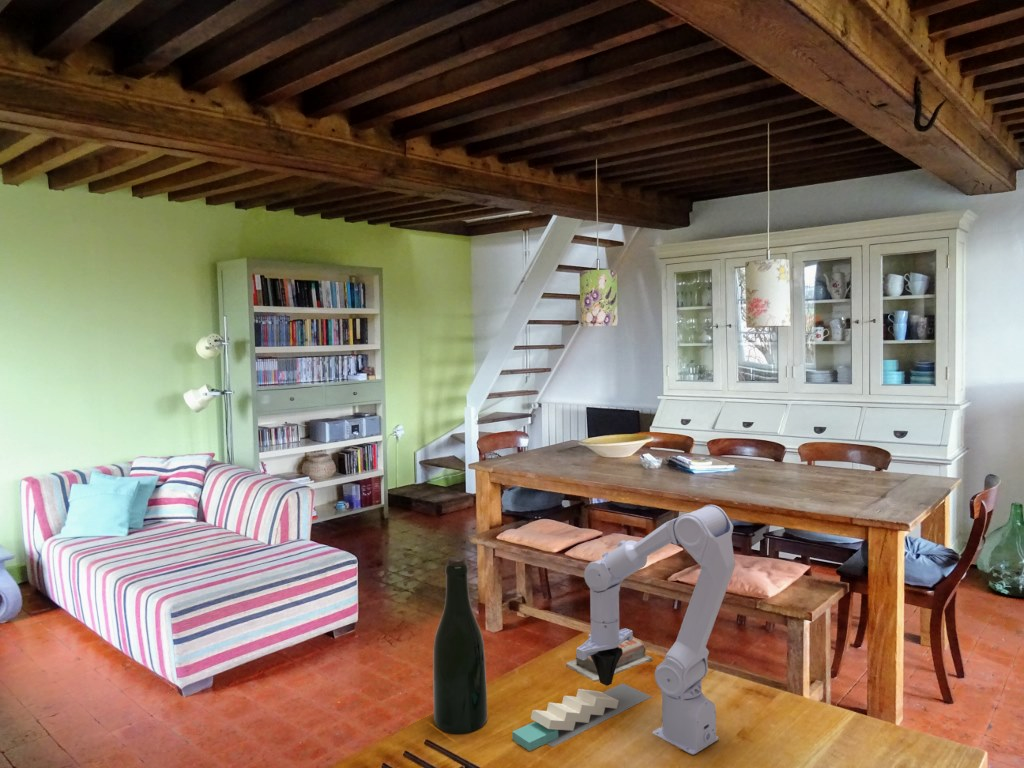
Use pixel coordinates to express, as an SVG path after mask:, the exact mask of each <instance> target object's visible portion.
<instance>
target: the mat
mask: <svg viewBox="0 0 1024 768" xmlns="http://www.w3.org/2000/svg"><path fill="white" fill-rule="evenodd" d="M602 693H604V694H606V695H608V696H610V697H612V698H615V699H617V700H619V702H618V706H617V709H615V708H607V707H605V710H604V714H603V715H592V714H591V715H590V719H589V723H585V722H575V726H574V730H573V731H572V730H558V738H557V739H554V740H552V741H550V742H548V743H546V744H547V745H549V746H550V747H552V748H554V747H556V746H558V745H560V744H562V743H564V742H566V741H568V740H570V739H572V738H573V737H575V736H577V735H579V734H581V733H583V732H585V731H588V730H590V729H591V728H593V727H595V726H597V725H599V724H602V723H603V722H605V721H607V720H609V719H610V718H611V719H612V718H613V717H615V716H617V715H618V714H619V715H620V713H623V712H625V711H626V710H629V709H630V708H633V707H635V706H636V705H638V704H640V703H643V702H645V701H646V700H648V699H650V698H652V696H651V695H649V694H648V693H645V692H644V691H642V690H639V689H637V688H634V687H632V686H630V685H629V684H626V683H623V682H622V683H620V684H618V685H615V686H613V687H611V688H609V689H607V690H605V691H603V692H602Z"/></svg>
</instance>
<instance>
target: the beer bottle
mask: <svg viewBox="0 0 1024 768" xmlns="http://www.w3.org/2000/svg"><path fill="white" fill-rule="evenodd" d="M465 559H466V558H465V557H464V556H459V555H456V556H451V557H448V559H447V564H446V565H445V569H444V571H445V585H446V586H445V601H444V605H443V606H444V608H443V611H442V613H441V617H440V621H439V623H438V626H437V629H436V632H435V636H434V641H433V642H434V643H433V652H432V653H433V655H432V657H433V658H432V662H433V663H432V664H433V666H432V667H433V668H432V673H433V674H432V675H433V676H432V678H433V680H432V681H433V685H432V687H433V689H432V690H433V692H432V693H433V719H434V724H435V726H436V728H438V729H439V730H440V731H442V732H444V733H448V734H452V735H464V734H465V735H466V734H470V733H472V732H475V731H478V730H480V729H481V728H482V727H483V726H484V725H485V724H486V722H487V720H488V699H487V698H488V696H487V695H488V694H487V692H488V691H487V677H486V676H487V675H486V672H487V671H486V670H487V669H486V654H485V644H484V643H485V642H484V639H483V634H482V631H481V628H480V625H479V624H478V621H477V618H476V616H475V613H474V611H473V608H472V605H471V604H472V603H471V599H470V593H469V579H468V577H469V575H468V573H469V566H468V563H466V560H465Z"/></svg>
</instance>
